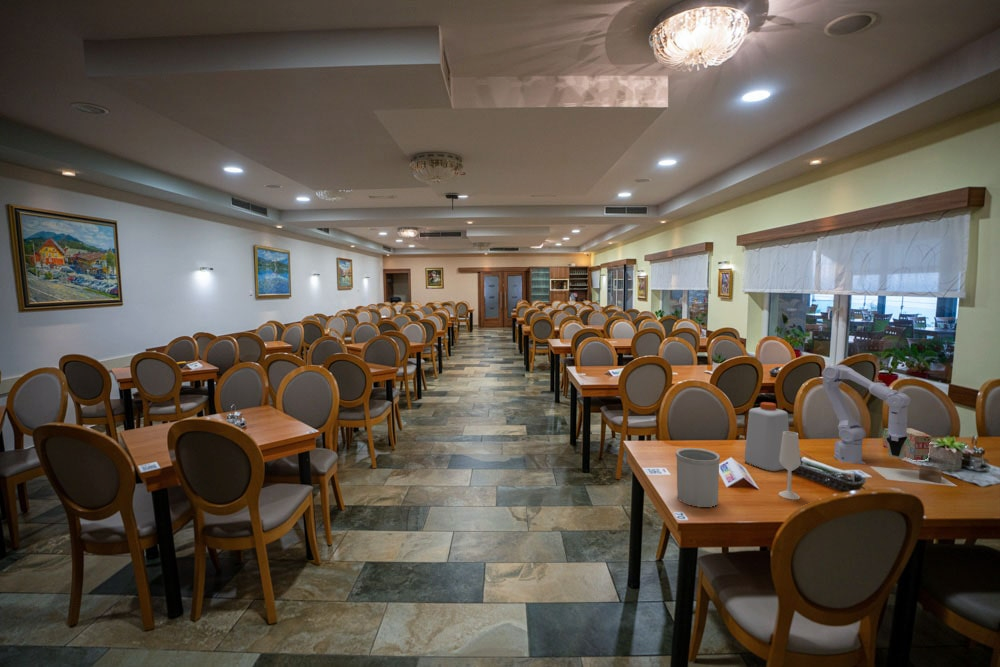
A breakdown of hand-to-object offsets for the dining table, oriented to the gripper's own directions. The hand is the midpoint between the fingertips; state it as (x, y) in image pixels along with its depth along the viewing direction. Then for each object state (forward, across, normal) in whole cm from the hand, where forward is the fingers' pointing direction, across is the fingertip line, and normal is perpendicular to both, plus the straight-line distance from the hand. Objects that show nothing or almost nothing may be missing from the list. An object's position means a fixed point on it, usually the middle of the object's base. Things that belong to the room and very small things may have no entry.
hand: (896, 454), depth 180 cm
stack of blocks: (+9, +35, 0) cm, 36 cm away
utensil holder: (+9, -84, +46) cm, 96 cm away
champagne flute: (+9, -56, +24) cm, 61 cm away
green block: (+1, 0, 0) cm, 1 cm away
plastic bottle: (+9, -27, +40) cm, 49 cm away
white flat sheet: (+8, 0, -5) cm, 10 cm away
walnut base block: (+8, 0, -10) cm, 13 cm away
